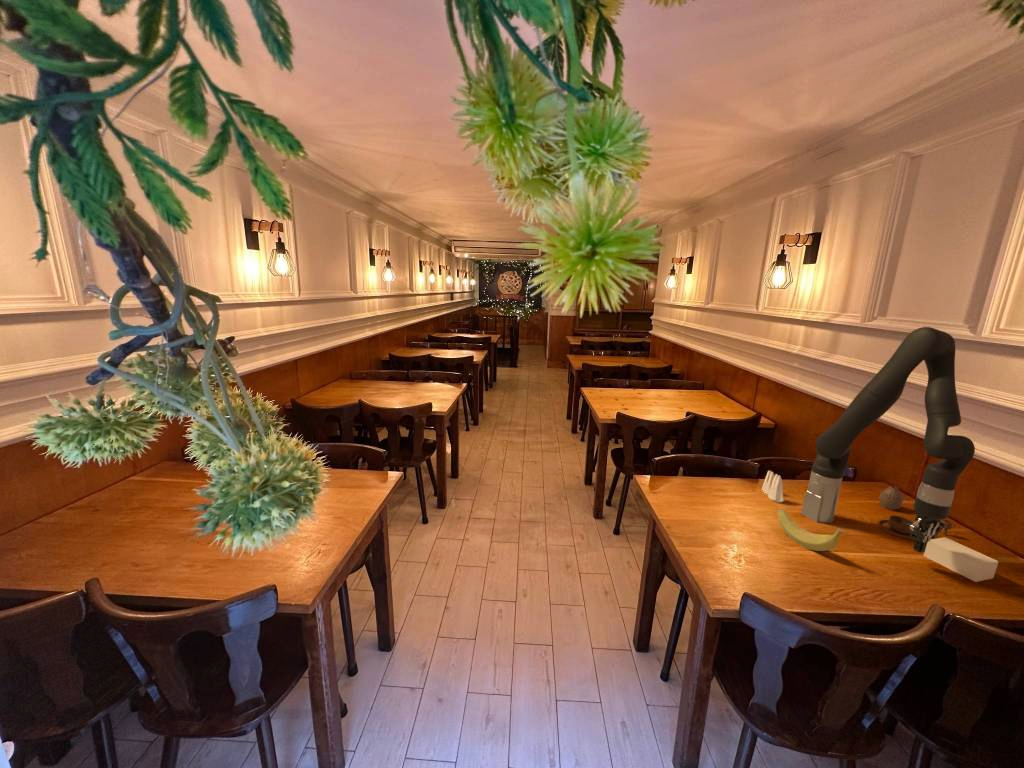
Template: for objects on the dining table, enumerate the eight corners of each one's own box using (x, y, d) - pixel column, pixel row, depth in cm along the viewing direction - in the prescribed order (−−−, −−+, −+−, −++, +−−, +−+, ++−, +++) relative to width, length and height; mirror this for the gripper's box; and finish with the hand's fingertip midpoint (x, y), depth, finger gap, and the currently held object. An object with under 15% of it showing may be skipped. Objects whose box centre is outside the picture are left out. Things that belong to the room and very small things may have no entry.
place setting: (875, 516, 164) (878, 502, 163) (947, 535, 153) (952, 520, 152) (879, 537, 150) (883, 521, 149) (960, 559, 139) (965, 543, 138)
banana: (795, 549, 147) (856, 549, 130) (784, 551, 145) (843, 551, 128) (783, 508, 152) (839, 502, 134) (771, 509, 150) (827, 504, 132)
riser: (975, 583, 126) (980, 565, 125) (923, 557, 138) (927, 540, 137) (992, 579, 128) (998, 561, 127) (940, 553, 141) (944, 537, 139)
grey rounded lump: (905, 512, 168) (910, 491, 166) (887, 511, 168) (892, 490, 166) (890, 503, 174) (895, 483, 172) (873, 503, 174) (878, 482, 172)
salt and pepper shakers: (783, 505, 169) (788, 479, 166) (771, 504, 170) (776, 478, 167) (771, 492, 180) (775, 467, 178) (760, 491, 181) (764, 466, 179)
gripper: (932, 507, 123) (917, 561, 127) (964, 503, 127) (948, 555, 130) (903, 495, 130) (889, 546, 134) (934, 491, 134) (919, 541, 137)
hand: (918, 551), depth 132 cm, fingers closed
